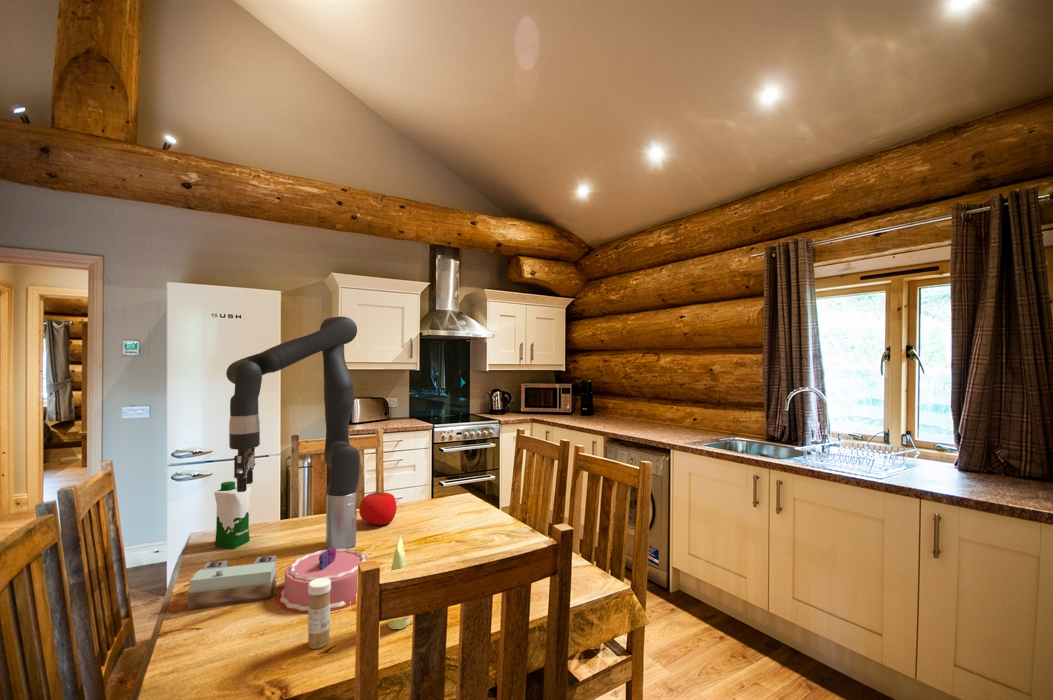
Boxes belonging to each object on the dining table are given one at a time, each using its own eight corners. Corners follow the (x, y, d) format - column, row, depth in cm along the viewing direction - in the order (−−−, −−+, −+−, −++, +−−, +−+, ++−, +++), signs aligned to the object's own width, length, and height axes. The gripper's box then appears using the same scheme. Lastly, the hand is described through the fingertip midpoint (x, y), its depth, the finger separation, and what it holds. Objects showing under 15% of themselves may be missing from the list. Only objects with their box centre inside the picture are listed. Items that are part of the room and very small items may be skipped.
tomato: (402, 518, 186) (403, 488, 186) (384, 531, 173) (385, 498, 173) (372, 515, 189) (373, 485, 189) (352, 528, 176) (353, 495, 176)
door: (278, 566, 135) (278, 551, 135) (270, 584, 125) (271, 568, 125) (204, 574, 130) (204, 559, 130) (189, 593, 120) (190, 576, 120)
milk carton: (231, 538, 165) (232, 479, 165) (254, 540, 163) (255, 480, 163) (209, 548, 156) (210, 485, 156) (233, 550, 154) (235, 487, 155)
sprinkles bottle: (324, 635, 109) (325, 575, 109) (333, 643, 106) (334, 581, 106) (303, 643, 105) (304, 581, 106) (312, 652, 102) (313, 588, 102)
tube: (381, 624, 113) (382, 540, 114) (399, 615, 117) (401, 534, 117) (395, 633, 110) (397, 546, 110) (414, 624, 114) (415, 540, 114)
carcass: (277, 581, 134) (278, 554, 134) (269, 599, 124) (270, 570, 124) (202, 589, 129) (203, 562, 129) (188, 609, 119) (188, 579, 119)
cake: (312, 566, 144) (313, 530, 145) (392, 573, 141) (392, 536, 141) (252, 609, 120) (253, 566, 120) (347, 619, 116) (347, 575, 116)
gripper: (254, 434, 133) (255, 493, 133) (264, 426, 146) (264, 479, 146) (222, 435, 130) (223, 496, 130) (235, 427, 144) (236, 482, 144)
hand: (245, 487), depth 138 cm, fingers open, 8 cm apart
